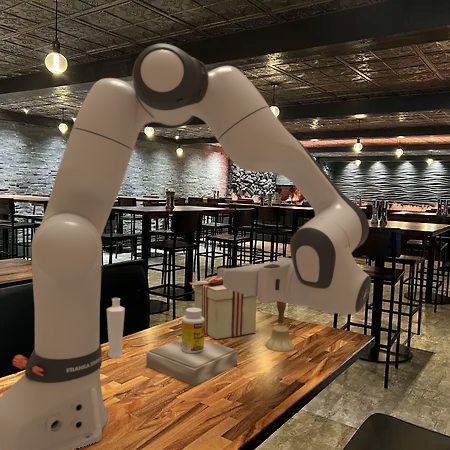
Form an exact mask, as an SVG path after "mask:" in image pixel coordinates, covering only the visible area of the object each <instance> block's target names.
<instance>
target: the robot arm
mask: <svg viewBox="0 0 450 450" xmlns="http://www.w3.org/2000/svg"><path fill="white" fill-rule="evenodd" d="M131 76H132V80H129V81H128V80H127V81H124V80H122V79H118V78H112V77H108V78H107V77H106V78H101V79H99V80H98V81H96V82H95V83H94V84H93V85H92V86H91V89H90V90H89V91H88V93H87V95H86V97H85V99H84V100H83V103H81V106H80V108H79V111H78V113H77V115H76V118H75V120H74V123H73V125H72V129H71V131H70V135H69V136H68V140H67V143H66V145H65V149H64V152H63V155H62V157H61V159H60V160H61V161H60V164H59V167H58V169H57V173H56V175H55V179H54V183H53V186H52V189H51V192H50V196H49V198H48V202H47V205H46V208H45V211H44V215H43V217H42V221H41V222H40V226H38V228H37V229H36V231H35V232H34V234H33V237H32V240H31V245H30V246H31V247H30V248H31V272H32V290H33V303H34V349H33V350H32V353H31V354H30V357H29V358H28V357H26V356H24V355H22V354H17V355H15V356H14V358H13V359H12V366H14V367H17V368H18V369H21V370H22V369H24V374H23V375H22V376H21V377H19V379H18V380H17V381H16V382H15V383H14V384H13V385H12V386H10V388H8V390H7V391H5V392H4V394H2V395H1V396H0V450H73V449H76V448H79V447H82V448H85V447H88V446H90V445H92V443H93V444H96V443H97V442H100V441H101V440H102V439H103V428H104V427H105V426H106V424H107V422H108V419H109V417H108V412H107V410H106V406H105V403H104V397H103V392H102V390H103V389H102V382H101V367H102V362H103V360H102V357H103V356H102V352H103V351H102V344H101V343H100V318H101V317H100V316H101V315H100V310H101V309H100V302H101V287H102V286H101V285H102V263H103V262H102V260H103V259H102V258H103V242H102V235H103V232H104V230H105V227H106V225H107V221H108V219H109V216H110V214H111V211H112V209H113V207H114V204H115V202H116V199H117V198H118V195H119V193H120V190H121V188H122V184H123V181H124V178H125V175H126V173H127V169H128V166H129V163H130V161H131V157H132V154H133V151H134V149H135V146H136V143H137V140H138V137H139V134H140V133H141V130H142V129H143V128H144V127H147V128H160V129H161V128H163V129H177V128H178V129H179V128H182V127H184V126H187V124H189V123H190V122H191V121H193V119H194V117H196V118H199V119H200V120H201V121H203V122H204V123H205V124H206V125H207V126H208V127H209V128H210V130H211V132H212V133H213V135H214V137H215V139H216V140H217V141H218V144H219V146H221V148H222V150H223V151H224V152H225V154H226V155H227V157H228V158H229V159H230V161H232V162H233V163H234V164H235V166H237V167H239V168H240V169H242V170H245V171H248V172H253V173H271V174H272V173H274V174H278V175H281V176H283V177H285V178H287V179H289V181H290V182H291V183H292V184H293V185H294V186H295V187H296V189H297V190H298V191H299V193H300V194H301V195H302V196H303V198H304V199H305V200H306V201H307V203H308V204H309V205H310V206H311V208H312V209H313V211H314V217H312V218H311V219H310V220H308V221H307V222H305V223H304V224H303V225H302V226H301V227H299V229H297V231H296V232H294V233H293V235H292V237H291V238H290V241H289V251H290V252H289V253H290V257H291V258H289V257H280V258H278V259H277V260H276V261H270V262H264V263H256V264H252V263H245V264H244V265H243V266H239V267H232V268H227V267H226V268H225V267H220V268H217V277H222V278H223V286H224V287H225V288H226V289H229V290H232V291H235V292H238V293H241V294H245V295H249V296H256V301H260V302H263V303H267V302H268V303H269V302H270V303H272V302H277V301H279V302H284V303H286V304H287V303H288V304H293V305H296V306H309V307H311V308H313V309H315V310H318V311H322V312H327V313H332V314H338V315H339V314H340V315H354V314H358V312H360V311H361V310H362V308H364V306H365V305H366V303H367V302H368V298H369V296H370V293H371V289H372V288H371V287H372V279H371V276H370V275H369V274H368V273H367V272H365V271H364V270H363V269H362V268H361V267H360V265H358V263H357V262H356V260H355V258H354V256H353V254H352V253H353V252H354V251H356V250H357V249H358V248H359V247H361V246H362V245H363V244H364V243H365V242H366V240H367V239H368V237H369V232H370V225H369V224H370V223H369V219H368V217H367V215H366V214H365V212H364V211H363V209H362V208H361V207H360V206H358V204H357V203H355V202H354V201H352V199H349V198H348V196H346V195H345V194H344V193H343V192H342V191H341V190H340V189H339V188H338V186H337V185H336V184H335V183H334V181H333V180H332V179H331V178H330V176H329V175H328V174H327V172H326V171H325V170H324V169H323V166H321V165H320V164H319V162H318V161H317V160H316V159H315V157H314V156H313V155H312V153H311V152H310V151H309V150H308V149H307V148H306V147H305V145H304V144H303V143H302V142H301V141H300V140H298V139H297V138H296V137H294V136H293V134H291V133H290V131H288V130H287V129H286V127H285V126H284V125H283V124H282V122H281V121H280V120H279V119H278V117H277V116H276V114H274V112H273V111H272V109H271V106H270V105H269V104H268V103H267V102H266V100H265V98H264V97H263V95H262V94H261V93H260V91H259V90H258V89H257V87H256V86H255V85H254V84H253V83H252V81H250V79H249V78H248V77H247V76H246V75H245V74H244V73H243V72H242V71H241V70H240V69H238V68H237V67H235V66H232V65H223V66H222V65H221V66H218V67H216V68H214V69H212V70H210V71H208V69H207V66H206V65H205V63H203V62H202V61H200V60H198V59H197V58H195V57H192V56H191V55H189V54H188V53H187V52H186V51H184V50H182V49H181V48H179V47H177V46H175V45H172V44H168V43H155V44H151V45H150V46H147V47H146V48H145V49H143V50H142V51H141V53H139V54H138V56H137V58H136V60H135V62H134V65H133V68H132V75H131ZM95 442H96V443H95ZM89 444H90V445H89ZM87 445H88V446H87ZM84 446H85V447H84ZM79 449H80V448H79Z"/></svg>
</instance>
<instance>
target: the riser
mask: <svg viewBox="0 0 450 450" xmlns="http://www.w3.org/2000/svg"><path fill="white" fill-rule="evenodd" d="M181 343H182V338H181V339H178V340H175V341H172V342H170V343H169V342H168V343H166V344H163V345H160V346H158V347H156V348H151V349H150V350H148V351H146V354H145V355H146V360H145V362H146V363H145V366H146V367H148V368H150V369H152V370H155V371H158V372H159V373H162V374H164V375H166V376H169V377H172V378H174V379H176V380H178V381H181V382H184V383H187V384H188V385H191V386H193V387H195V386H197V385H199V384H201V383H203V382H206V381H207V380H210V379H211V378H213V377H216V376H218V375H220V374H221V373H224V372H226V371H227V370H228V371H229V370H231V369H232V368H234V367H236V366H238V359H239V358H238V352H239V350H236V349H235V348H231V347H228V346H225V345H223V344H220V343H216V342H213V341H209V340H206V339H204V348H203V350H202V351H201V352H198V353H187V352H184V351H183V350H182V348H181Z"/></svg>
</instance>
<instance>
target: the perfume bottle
mask: <svg viewBox="0 0 450 450" xmlns="http://www.w3.org/2000/svg"><path fill="white" fill-rule="evenodd" d="M120 300H121V298H119V297H113V298H111V301H112V305H111V306H110V307H107V308H106V319H107V320H106V321H107V335H108V336H107V337H108V351H107V357H109V358H110V359H117V358H122V356H123V354H124V353H123V349H122V347H123V336H124V334H123V333H124V324H125V323H124V322H125V312H126V311H125V309H126V308H125V307H123V306H121V305H120V304H121V301H120Z"/></svg>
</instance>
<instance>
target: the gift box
mask: <svg viewBox="0 0 450 450" xmlns="http://www.w3.org/2000/svg"><path fill="white" fill-rule="evenodd" d="M188 283H189V284H190V285H192V286H193V292H194V308H200V309H201V310H202V317H204V319H205V324H204V335H205V334H206V336H207V335H208V337H211V338H212V339H214V340H222V339H228V338H234V337H238V336H239V337H240V336H244V335H245V336H246V335H250V334H254V333H257V330H256V326H257V325H256V323H257V317H256V316H257V296H249V295H245V294H241V293H238V292H235V291H232V290H229V289H226V288H225V287H224V286H223V277H219V276H209V277H205V278H204V280H199V281H197V280H195V281H193V282H192V281H190V282H188Z"/></svg>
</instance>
